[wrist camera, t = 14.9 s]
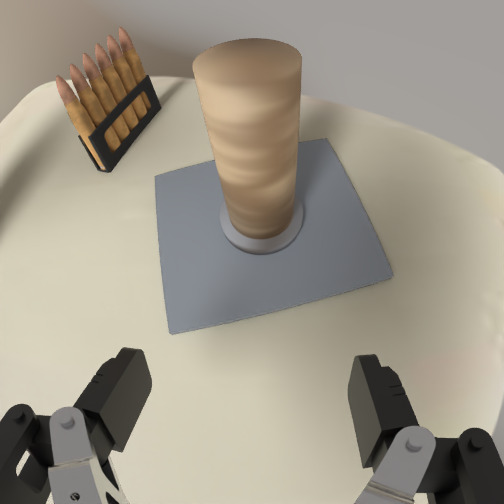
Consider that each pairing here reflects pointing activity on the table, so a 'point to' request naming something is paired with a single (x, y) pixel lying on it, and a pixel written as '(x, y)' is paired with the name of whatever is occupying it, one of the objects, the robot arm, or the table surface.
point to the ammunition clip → (110, 101)
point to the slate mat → (262, 266)
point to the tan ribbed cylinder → (254, 138)
